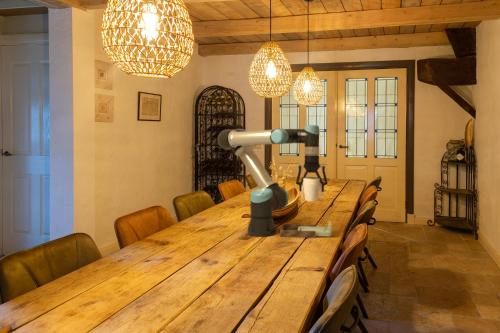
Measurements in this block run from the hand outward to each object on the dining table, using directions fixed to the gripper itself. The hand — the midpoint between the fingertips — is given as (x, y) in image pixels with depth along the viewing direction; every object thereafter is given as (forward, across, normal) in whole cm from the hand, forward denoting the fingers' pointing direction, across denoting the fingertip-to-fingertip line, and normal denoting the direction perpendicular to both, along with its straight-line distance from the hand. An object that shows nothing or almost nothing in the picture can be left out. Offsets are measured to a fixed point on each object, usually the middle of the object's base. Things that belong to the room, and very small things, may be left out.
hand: (311, 197), depth 235 cm
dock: (+19, -7, 0) cm, 21 cm away
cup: (+2, 0, 0) cm, 2 cm away
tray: (+19, +2, +1) cm, 19 cm away
